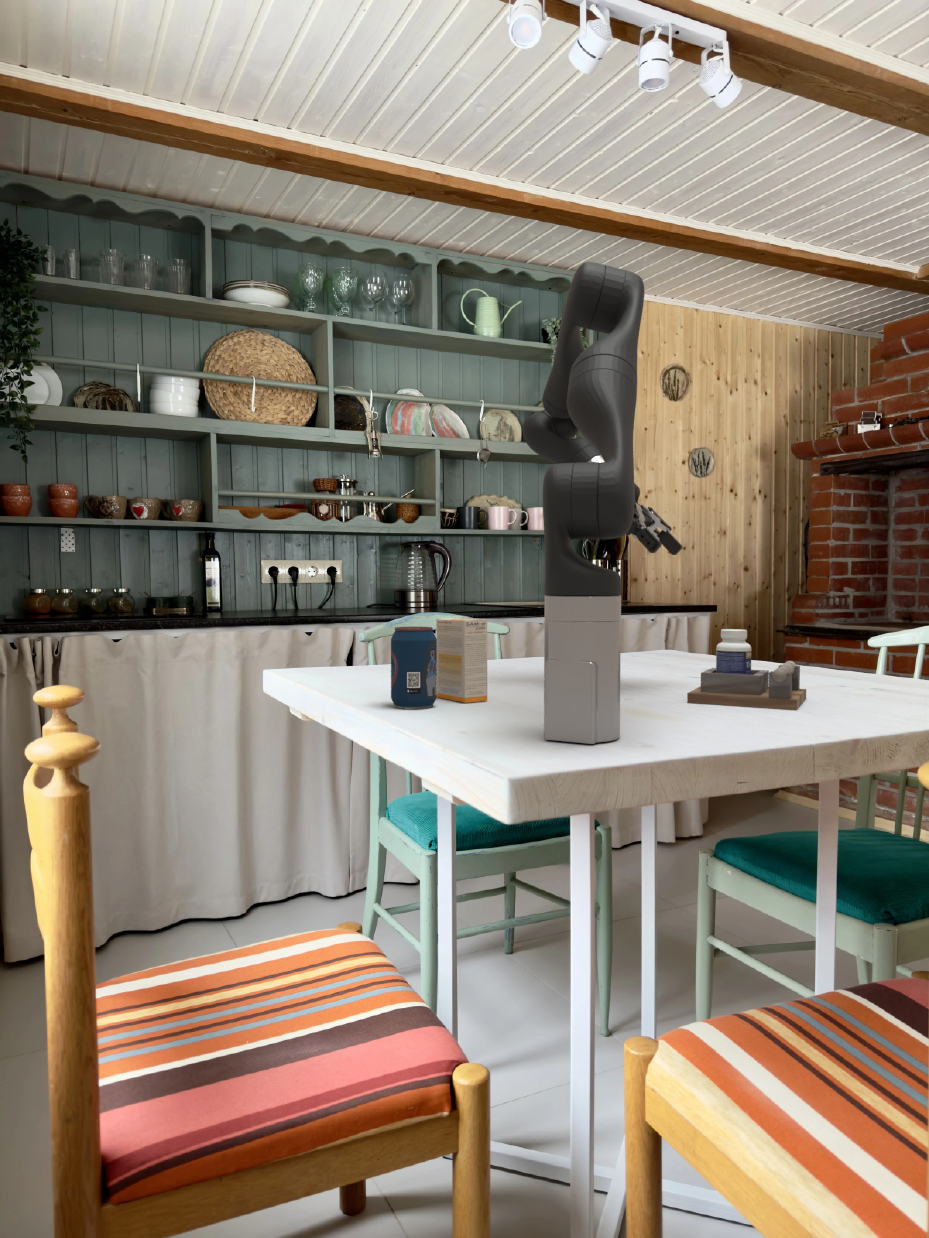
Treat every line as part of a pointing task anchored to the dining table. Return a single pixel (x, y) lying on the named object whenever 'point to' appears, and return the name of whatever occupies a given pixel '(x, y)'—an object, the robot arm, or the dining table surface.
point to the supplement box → (462, 659)
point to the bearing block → (752, 688)
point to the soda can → (413, 667)
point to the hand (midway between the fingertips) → (668, 550)
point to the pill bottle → (733, 653)
